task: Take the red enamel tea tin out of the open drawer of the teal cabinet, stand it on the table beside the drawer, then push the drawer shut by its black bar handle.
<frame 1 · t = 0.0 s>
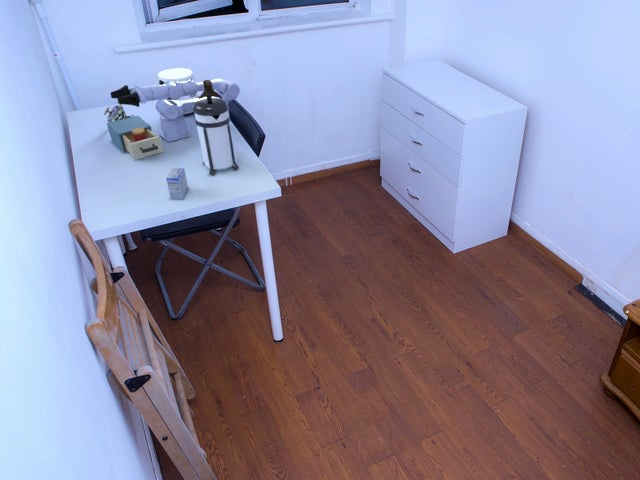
hand: (114, 98, 214), 22 cm above the table, tool horizontal, fingers open, 7 cm apart
olive oil: (216, 138, 238), on the table
drawer: (143, 144, 221), point 4 cm above the table, slide at 9.0 cm, touching tea tin
milk container: (183, 111, 260), on the table
passion flower: (122, 126, 244), on the table
tea tin: (142, 148, 223), point 2 cm above the table, touching drawer
medicine box: (180, 194, 200), on the table
coffee press: (219, 166, 218), on the table
cabinet: (133, 143, 231), on the table
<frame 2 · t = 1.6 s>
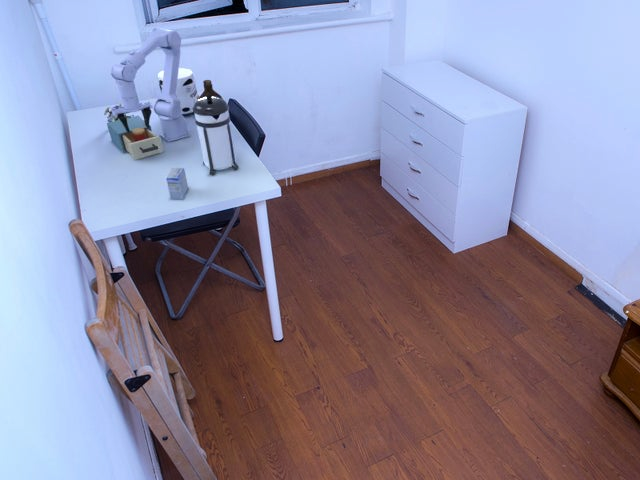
hand: (137, 129, 218), 10 cm above the table, tool pointing down, fingers open, 7 cm apart
nothing on the table moved.
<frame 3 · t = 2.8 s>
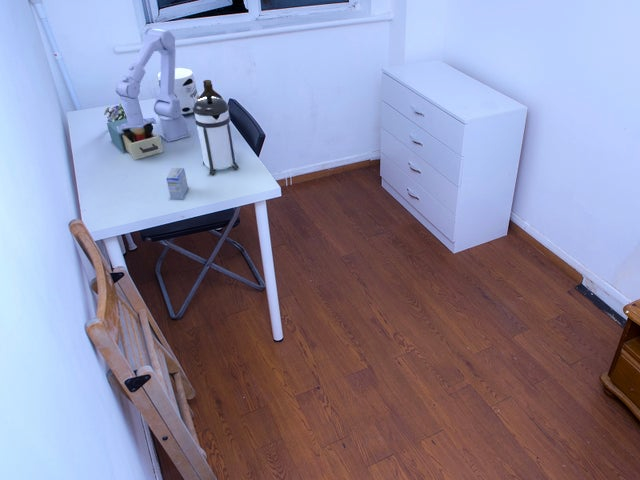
hand: (141, 143, 222), 4 cm above the table, tool pointing down, fingers closed on drawer, 6 cm apart
drawer: (143, 144, 221), point 4 cm above the table, slide at 9.0 cm, touching gripper, tea tin
everything else where it was.
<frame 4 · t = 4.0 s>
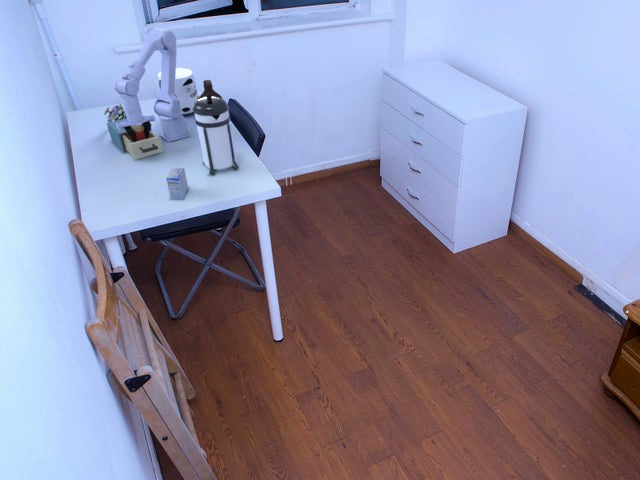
hand: (141, 141, 222), 5 cm above the table, tool pointing down, fingers closed on tea tin, 4 cm apart
drawer: (143, 144, 221), point 4 cm above the table, slide at 9.0 cm
tea tin: (142, 146, 223), point 3 cm above the table, touching gripper
everything else where it was.
when the fingers open (2 cm above the table, at t = 9.5 s): tea tin stays where it is, on the table.
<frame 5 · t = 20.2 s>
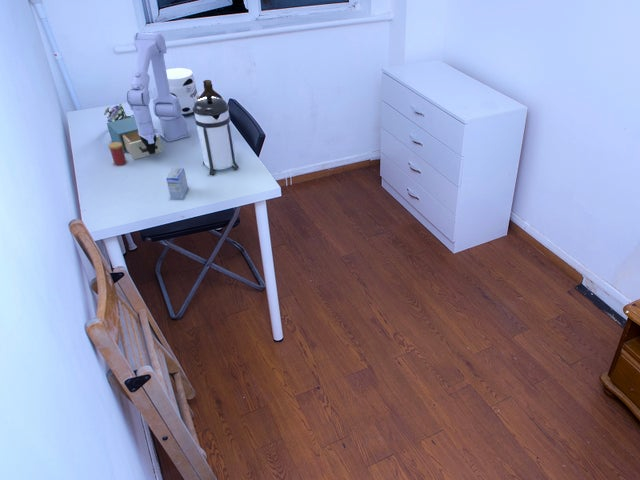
hand: (152, 153, 216), 4 cm above the table, tool pointing down, fingers closed
drawer: (142, 144, 221), point 4 cm above the table, slide at 8.6 cm, touching gripper
tea tin: (120, 163, 217), on the table
everything else where it was.
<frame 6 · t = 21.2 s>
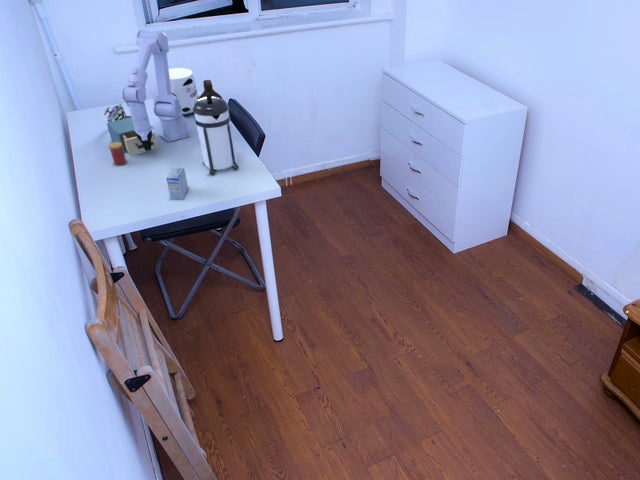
hand: (148, 149, 218), 4 cm above the table, tool pointing down, fingers closed
drawer: (138, 140, 224), point 4 cm above the table, slide at 4.5 cm, touching gripper
everything else where it was.
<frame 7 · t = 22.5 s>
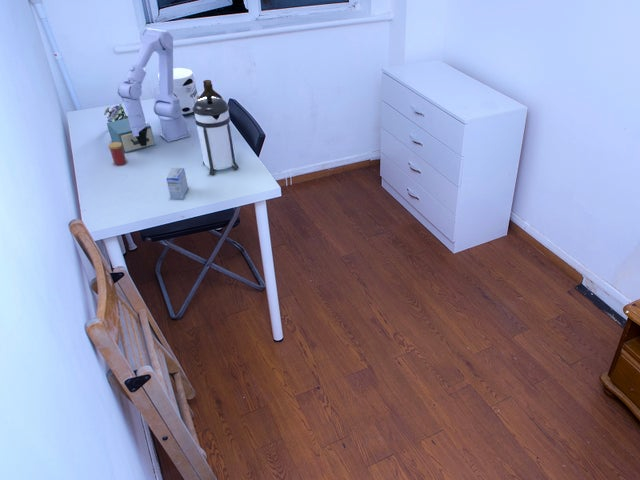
hand: (143, 145, 221), 4 cm above the table, tool pointing down, fingers closed, pressing on drawer
drawer: (134, 136, 226), point 4 cm above the table, slide at 0.0 cm, touching cabinet, gripper
everything else where it was.
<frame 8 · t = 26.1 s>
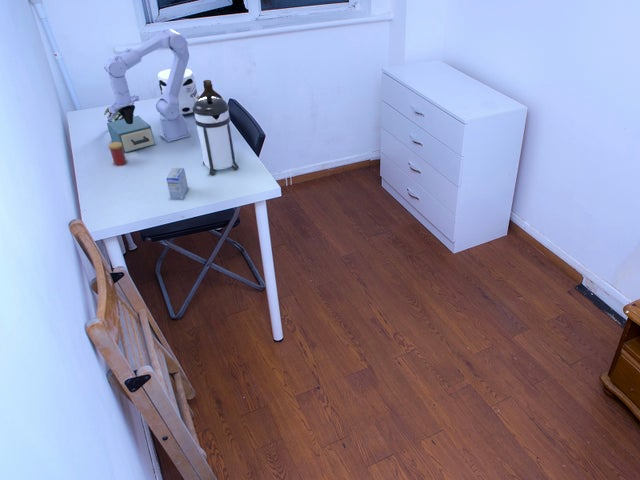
hand: (129, 123, 222), 10 cm above the table, tool pointing down, fingers closed
drawer: (134, 136, 226), point 4 cm above the table, slide at 0.0 cm
everything else where it was.
at the end: tea tin 0.0 cm from the target spot, on the table; tea tin tilted 0°; drawer slide at 0.0 cm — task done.
